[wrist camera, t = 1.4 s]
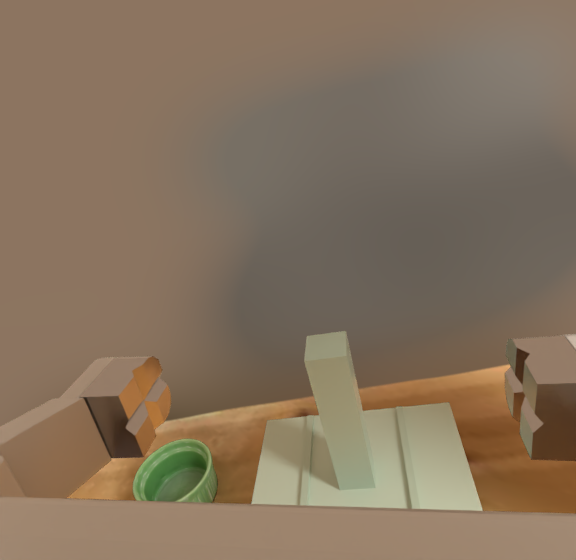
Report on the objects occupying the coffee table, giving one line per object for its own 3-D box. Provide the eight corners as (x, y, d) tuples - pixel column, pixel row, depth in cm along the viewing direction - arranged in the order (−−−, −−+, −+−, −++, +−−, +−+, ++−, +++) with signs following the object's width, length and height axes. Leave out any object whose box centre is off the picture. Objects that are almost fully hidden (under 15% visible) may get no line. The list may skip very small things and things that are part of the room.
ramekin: (210, 533, 45) (196, 506, 43) (133, 535, 47) (117, 509, 45) (231, 460, 53) (220, 435, 51) (164, 465, 55) (151, 440, 53)
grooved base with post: (449, 409, 43) (437, 278, 36) (497, 565, 30) (492, 405, 23) (269, 427, 46) (228, 310, 40) (243, 571, 34) (176, 435, 27)
